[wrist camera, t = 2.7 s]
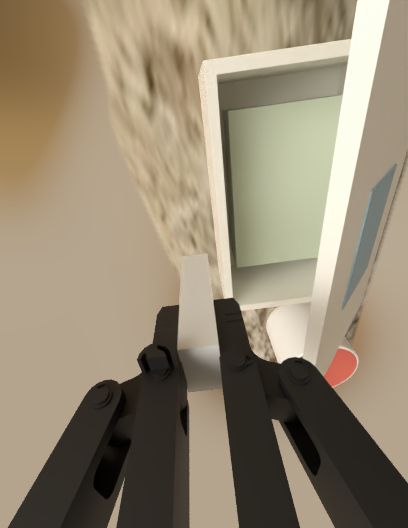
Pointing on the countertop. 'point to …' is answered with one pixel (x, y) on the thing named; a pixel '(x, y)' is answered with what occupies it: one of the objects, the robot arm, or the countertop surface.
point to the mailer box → (271, 166)
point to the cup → (293, 340)
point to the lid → (361, 172)
